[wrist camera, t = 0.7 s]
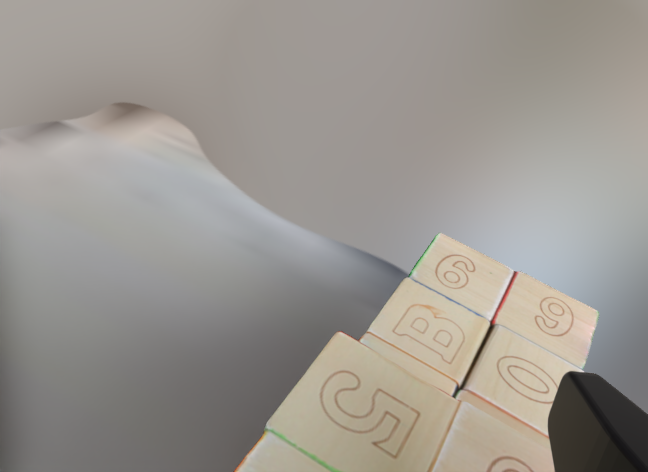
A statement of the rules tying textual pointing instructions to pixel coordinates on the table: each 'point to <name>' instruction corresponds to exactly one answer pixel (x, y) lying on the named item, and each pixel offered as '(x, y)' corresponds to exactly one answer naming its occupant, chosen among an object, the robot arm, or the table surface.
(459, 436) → the stack of blocks
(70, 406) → the table surface
